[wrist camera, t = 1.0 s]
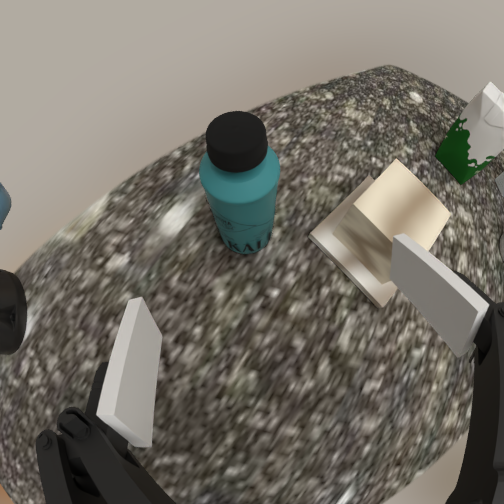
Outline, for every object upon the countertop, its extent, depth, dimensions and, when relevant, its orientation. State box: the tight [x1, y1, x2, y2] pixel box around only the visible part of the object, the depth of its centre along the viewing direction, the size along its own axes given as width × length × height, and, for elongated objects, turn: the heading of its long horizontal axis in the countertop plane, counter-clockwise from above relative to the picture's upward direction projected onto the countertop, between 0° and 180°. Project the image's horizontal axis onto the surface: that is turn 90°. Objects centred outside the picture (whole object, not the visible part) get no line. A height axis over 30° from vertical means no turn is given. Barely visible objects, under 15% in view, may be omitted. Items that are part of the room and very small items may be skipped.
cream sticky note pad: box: [308, 159, 451, 308], centre depth 30 cm, size 13×13×10 cm
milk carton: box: [435, 82, 504, 185], centre depth 29 cm, size 9×9×20 cm
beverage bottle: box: [199, 111, 280, 254], centre depth 26 cm, size 6×7×20 cm
